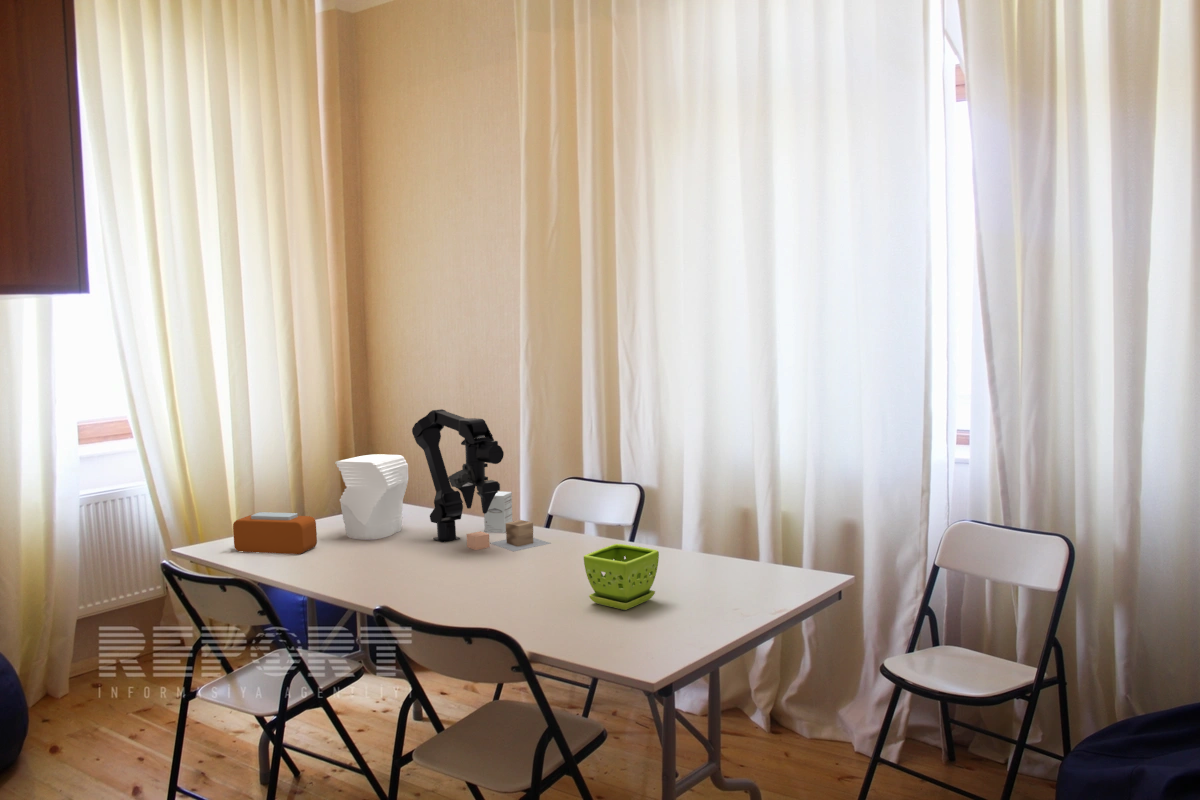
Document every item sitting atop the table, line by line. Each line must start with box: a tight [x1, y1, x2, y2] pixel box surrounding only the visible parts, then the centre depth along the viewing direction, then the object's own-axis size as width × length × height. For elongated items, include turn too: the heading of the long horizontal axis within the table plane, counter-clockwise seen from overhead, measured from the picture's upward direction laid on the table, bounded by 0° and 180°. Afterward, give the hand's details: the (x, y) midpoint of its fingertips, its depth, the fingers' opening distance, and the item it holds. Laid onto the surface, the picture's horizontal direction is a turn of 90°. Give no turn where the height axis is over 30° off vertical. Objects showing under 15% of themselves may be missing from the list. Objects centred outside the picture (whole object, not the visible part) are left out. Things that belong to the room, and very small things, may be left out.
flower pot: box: [583, 543, 660, 611], centre depth 228 cm, size 14×14×13 cm
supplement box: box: [483, 490, 513, 534], centre depth 307 cm, size 7×7×13 cm
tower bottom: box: [505, 532, 534, 547], centre depth 289 cm, size 6×6×3 cm
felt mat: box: [489, 537, 552, 552], centre depth 289 cm, size 14×14×1 cm
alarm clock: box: [232, 511, 318, 555], centre depth 289 cm, size 24×8×11 cm, turn 77°
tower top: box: [505, 519, 534, 536], centre depth 289 cm, size 6×6×3 cm
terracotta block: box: [466, 531, 491, 551], centre depth 285 cm, size 5×5×4 cm
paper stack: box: [334, 453, 410, 541], centre depth 306 cm, size 21×27×26 cm
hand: (476, 510), depth 284 cm, fingers open, 9 cm apart
